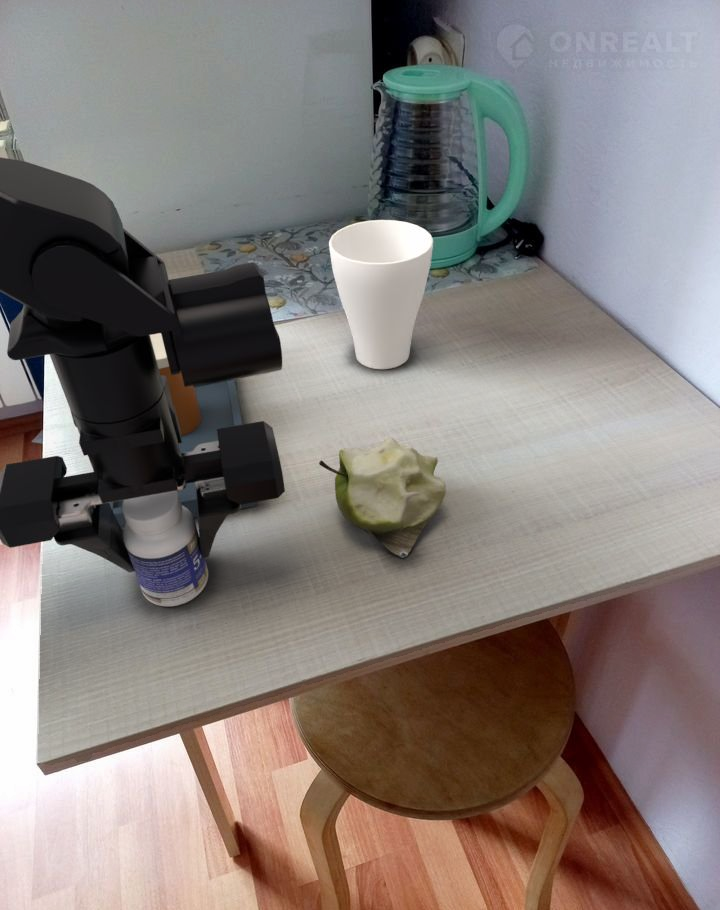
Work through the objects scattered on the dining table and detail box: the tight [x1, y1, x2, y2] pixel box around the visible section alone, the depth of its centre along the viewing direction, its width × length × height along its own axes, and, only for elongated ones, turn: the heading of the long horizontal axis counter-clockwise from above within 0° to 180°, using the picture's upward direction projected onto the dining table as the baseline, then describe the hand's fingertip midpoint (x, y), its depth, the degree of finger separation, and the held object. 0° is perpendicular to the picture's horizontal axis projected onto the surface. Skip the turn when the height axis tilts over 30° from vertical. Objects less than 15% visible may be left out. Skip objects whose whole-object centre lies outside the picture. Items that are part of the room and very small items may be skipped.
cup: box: [328, 219, 434, 370], centre depth 75 cm, size 10×10×14 cm
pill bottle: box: [122, 491, 209, 607], centre depth 53 cm, size 5×5×9 cm
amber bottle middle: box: [150, 333, 201, 436], centre depth 67 cm, size 5×5×9 cm
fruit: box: [318, 436, 447, 559], centre depth 59 cm, size 9×9×8 cm
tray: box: [109, 379, 258, 531], centre depth 70 cm, size 13×27×2 cm, turn 13°
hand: (169, 560), depth 54 cm, fingers closed on pill bottle, 5 cm apart
